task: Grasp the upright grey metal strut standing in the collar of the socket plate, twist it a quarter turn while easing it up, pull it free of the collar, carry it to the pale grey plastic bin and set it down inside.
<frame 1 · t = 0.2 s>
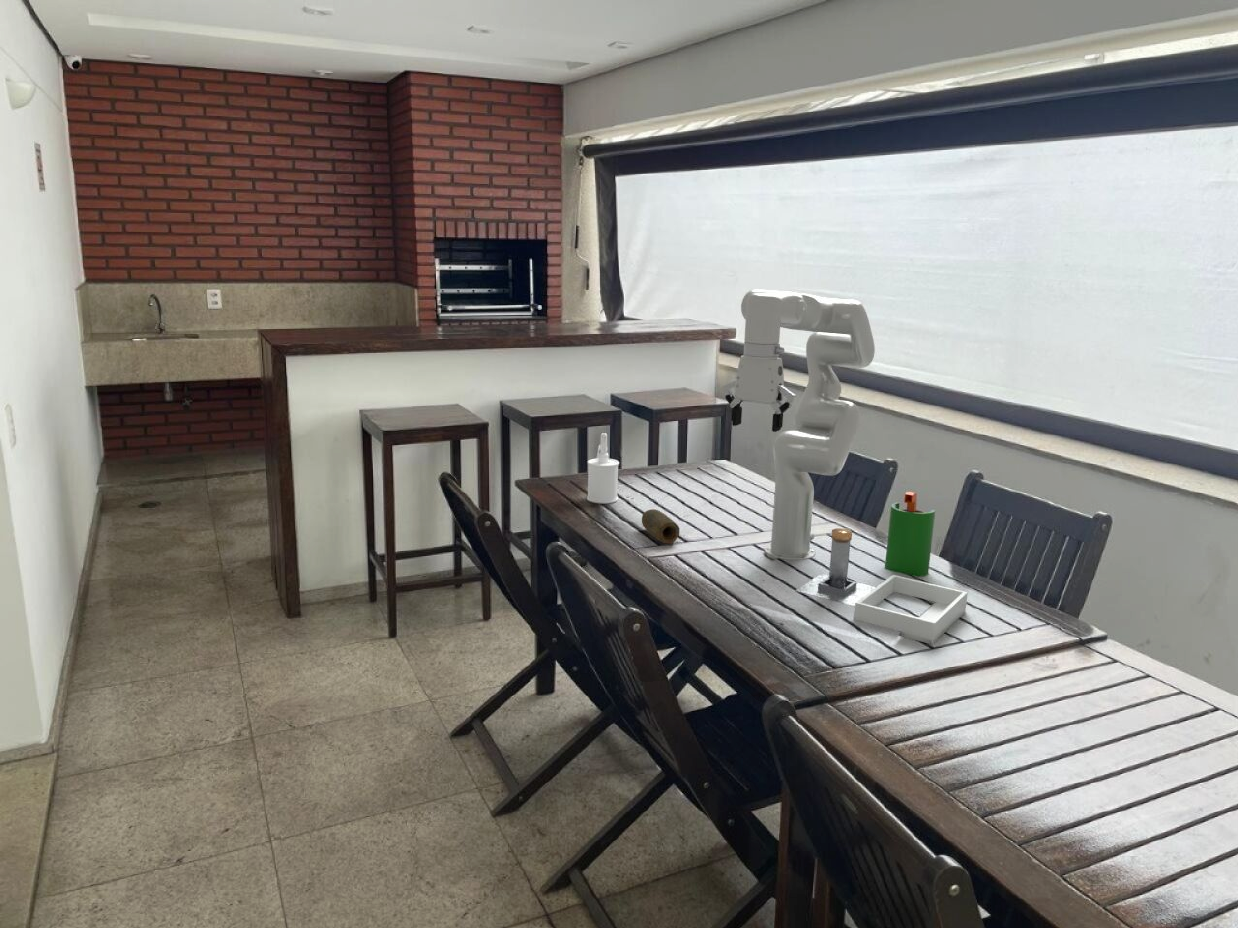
hand: (756, 427, 215), 36 cm above the table, tool pointing down, fingers open, 9 cm apart
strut: (837, 589, 218), point 1 cm above the table, touching socket plate
motor: (905, 571, 234), on the table
stone weight: (659, 538, 254), on the table
bin: (910, 617, 205), on the table
socket plate: (836, 593, 218), on the table
white spout bottle: (602, 499, 288), on the table
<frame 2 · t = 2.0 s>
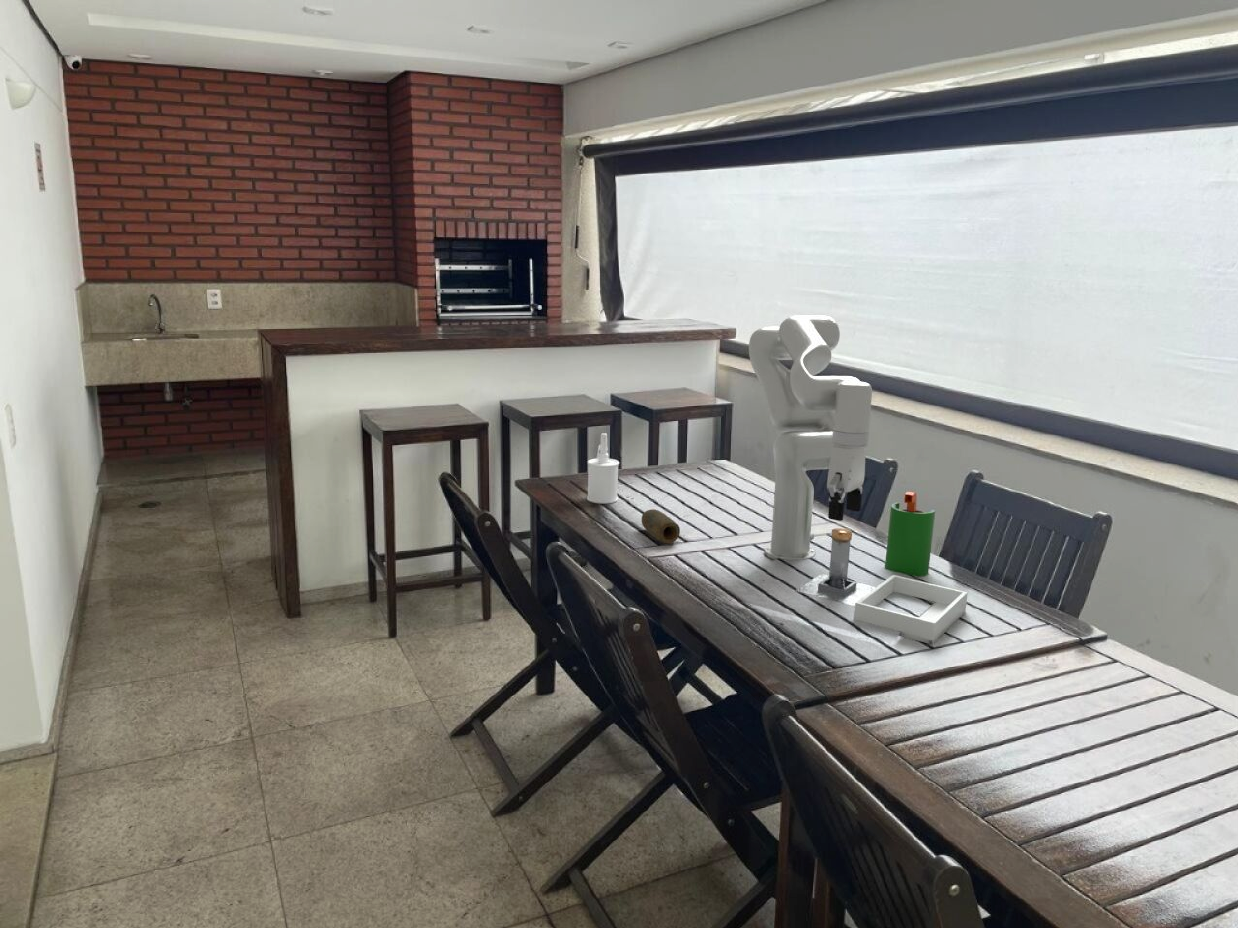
hand: (844, 514, 213), 19 cm above the table, tool pointing down, fingers open, 9 cm apart
nothing on the table moved.
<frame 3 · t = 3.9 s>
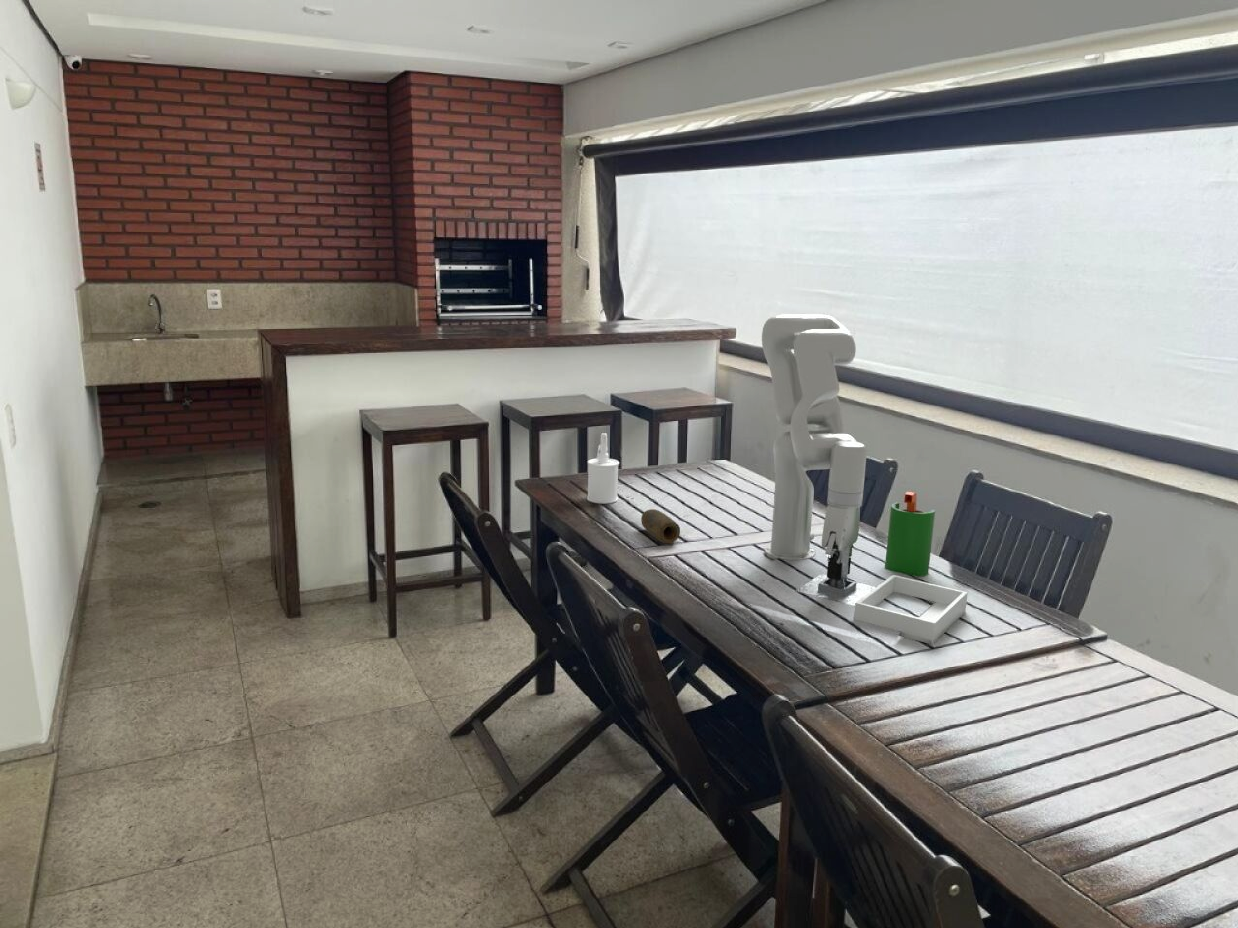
hand: (838, 575, 217), 4 cm above the table, tool pointing down, fingers closed on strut, 4 cm apart
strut: (837, 589, 218), point 1 cm above the table, touching gripper, socket plate
everything else where it was.
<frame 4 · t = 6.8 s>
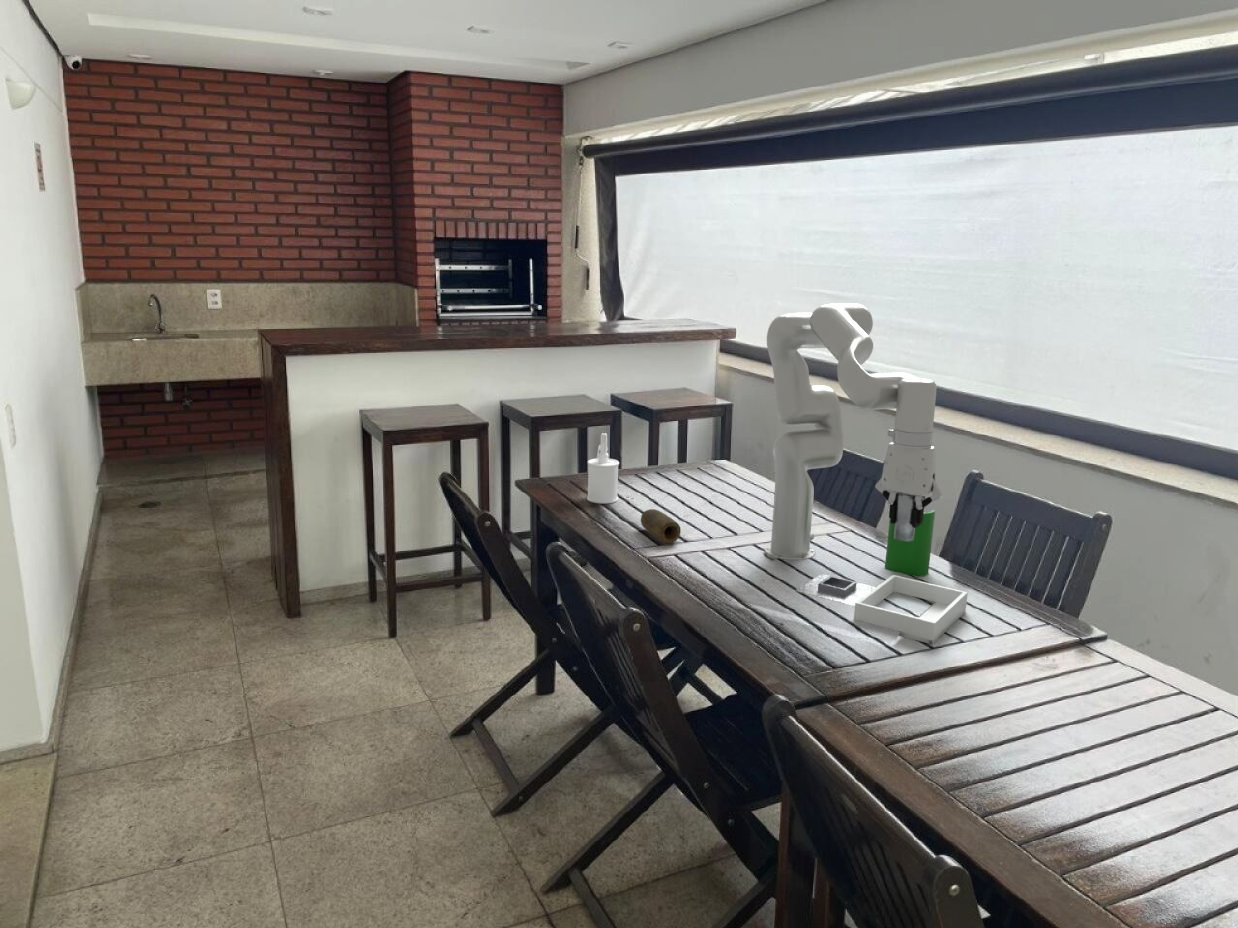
hand: (905, 523, 203), 20 cm above the table, tool pointing down, fingers closed on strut, 4 cm apart
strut: (903, 538, 203), point 17 cm above the table, touching gripper
everything else where it was.
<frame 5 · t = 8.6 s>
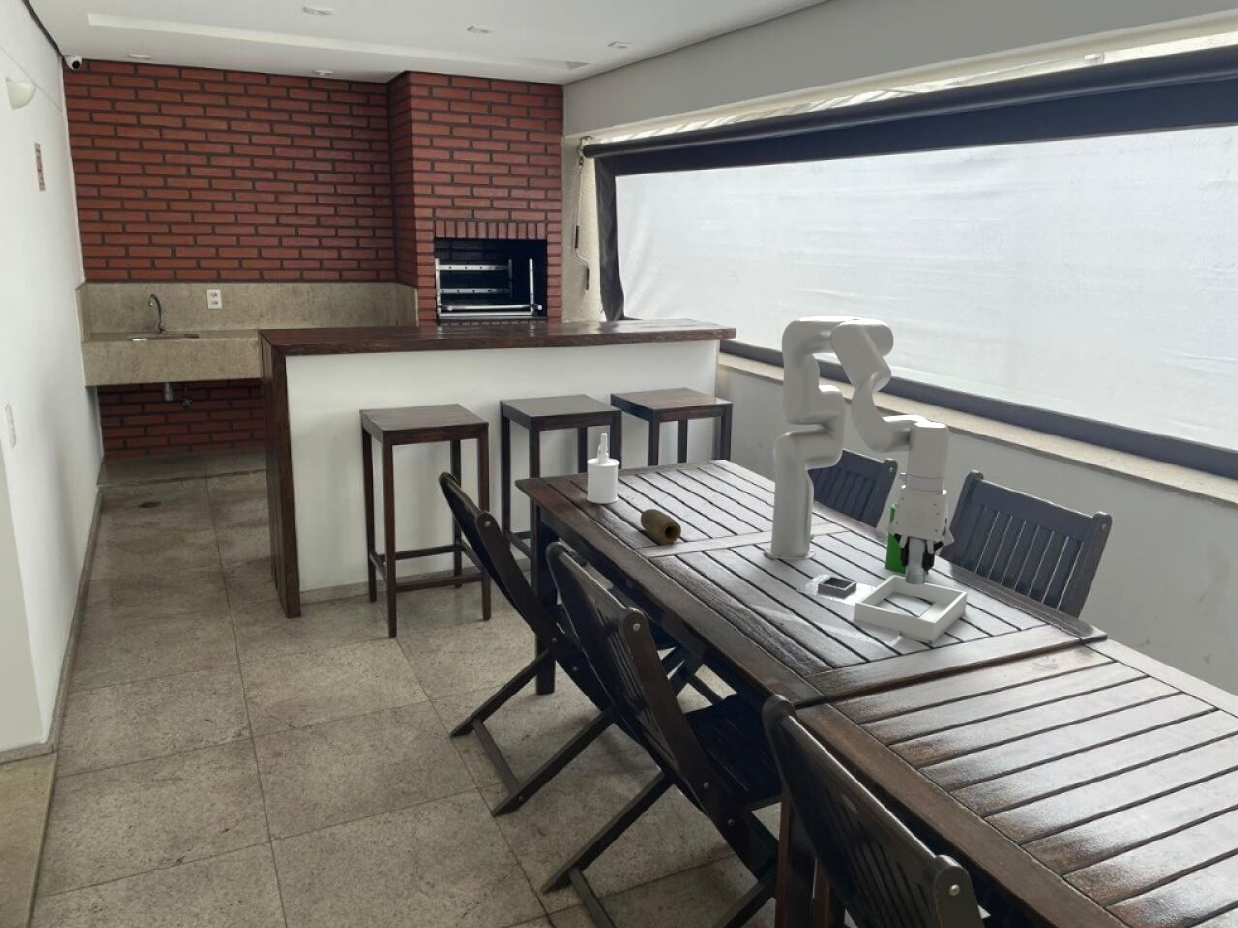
hand: (916, 566, 202), 11 cm above the table, tool pointing down, fingers closed on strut, 4 cm apart
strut: (914, 581, 203), point 8 cm above the table, touching gripper
everything else where it was.
when the fingers open (5 cm above the table, at t = 10.1 s): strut stays where it is, resting on bin.
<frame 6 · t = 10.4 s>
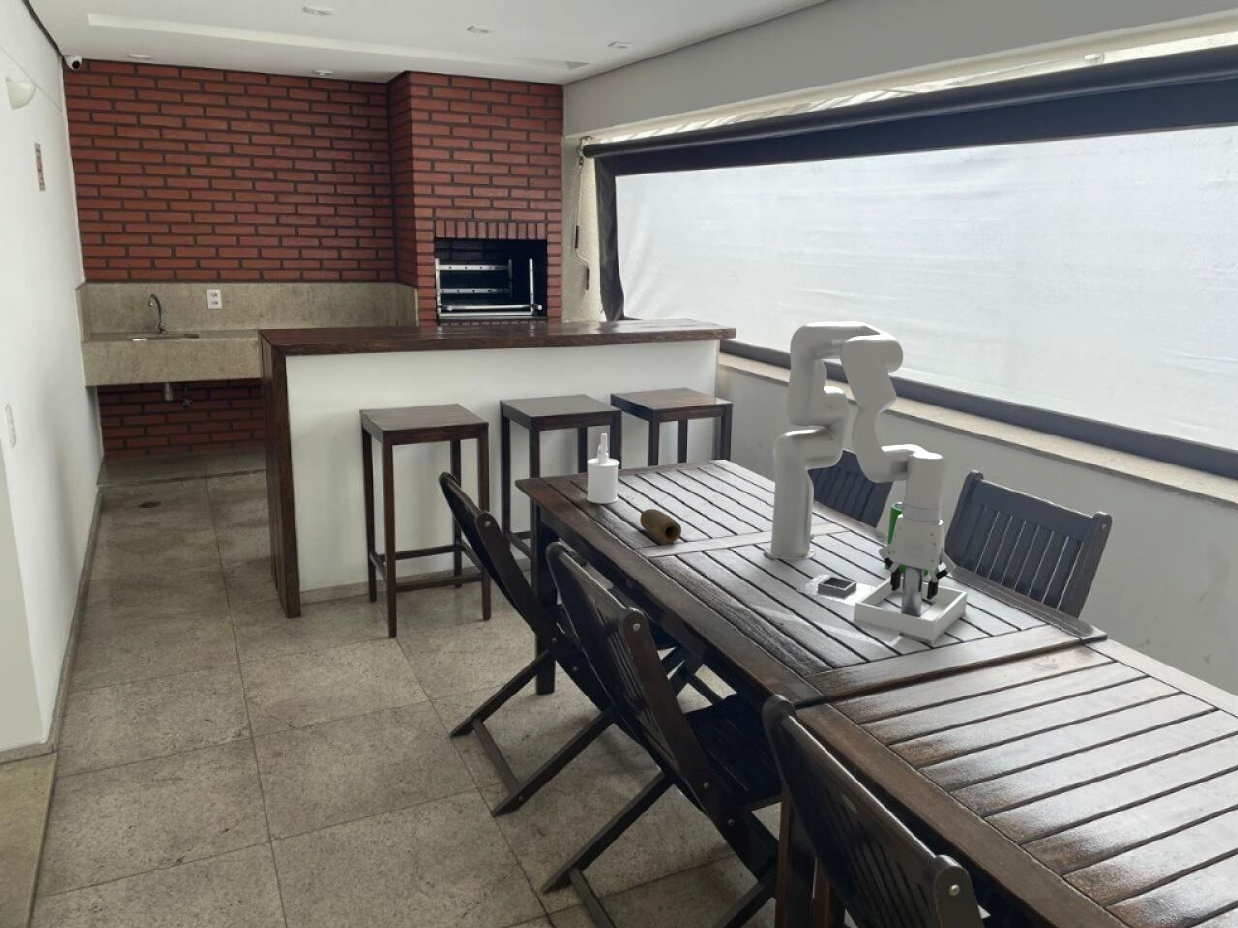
hand: (913, 592, 204), 6 cm above the table, tool pointing down, fingers open, 7 cm apart
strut: (910, 613, 205), point 1 cm above the table, touching bin
everything else where it was.
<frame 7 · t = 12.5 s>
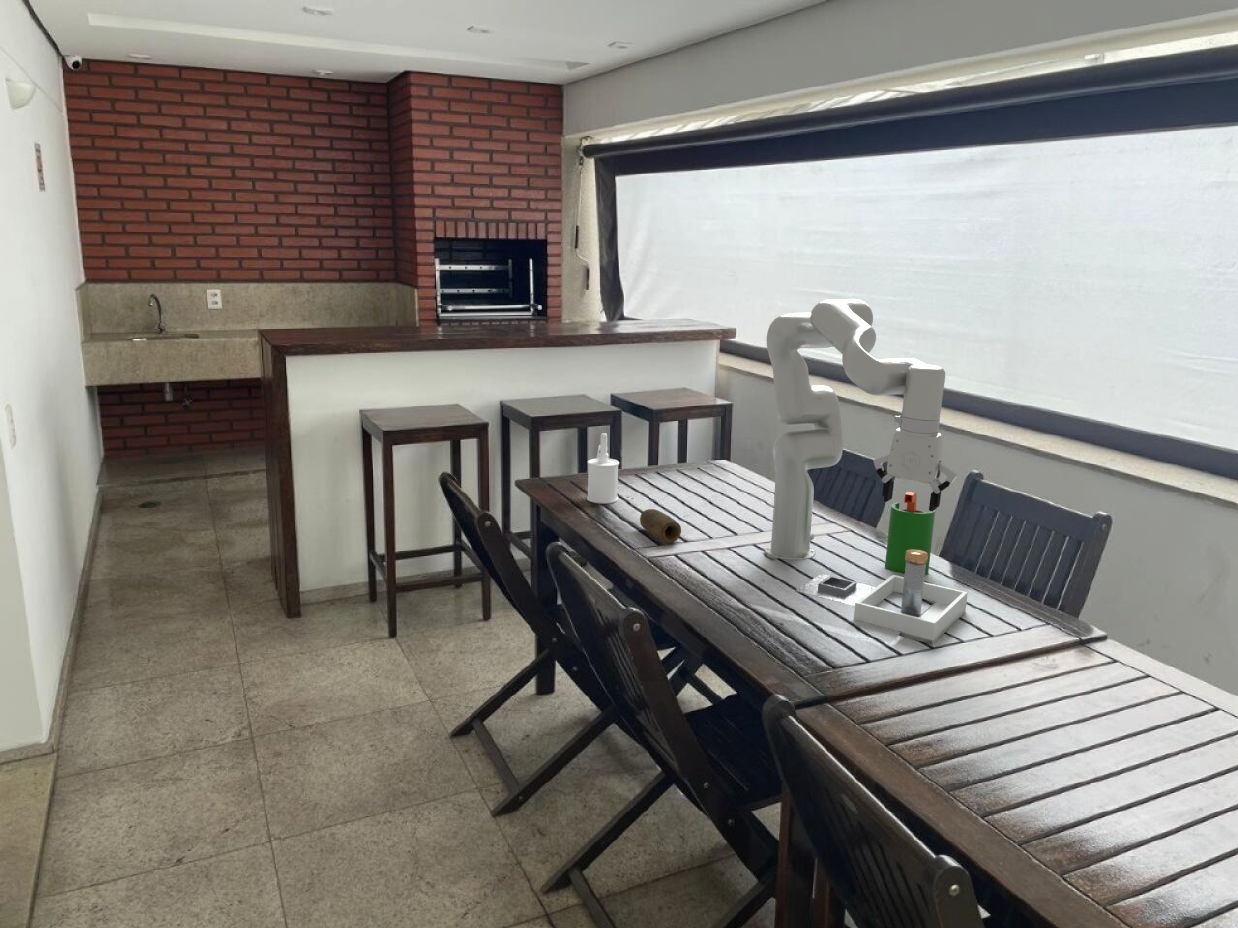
hand: (909, 504, 202), 24 cm above the table, tool pointing down, fingers open, 9 cm apart
nothing on the table moved.
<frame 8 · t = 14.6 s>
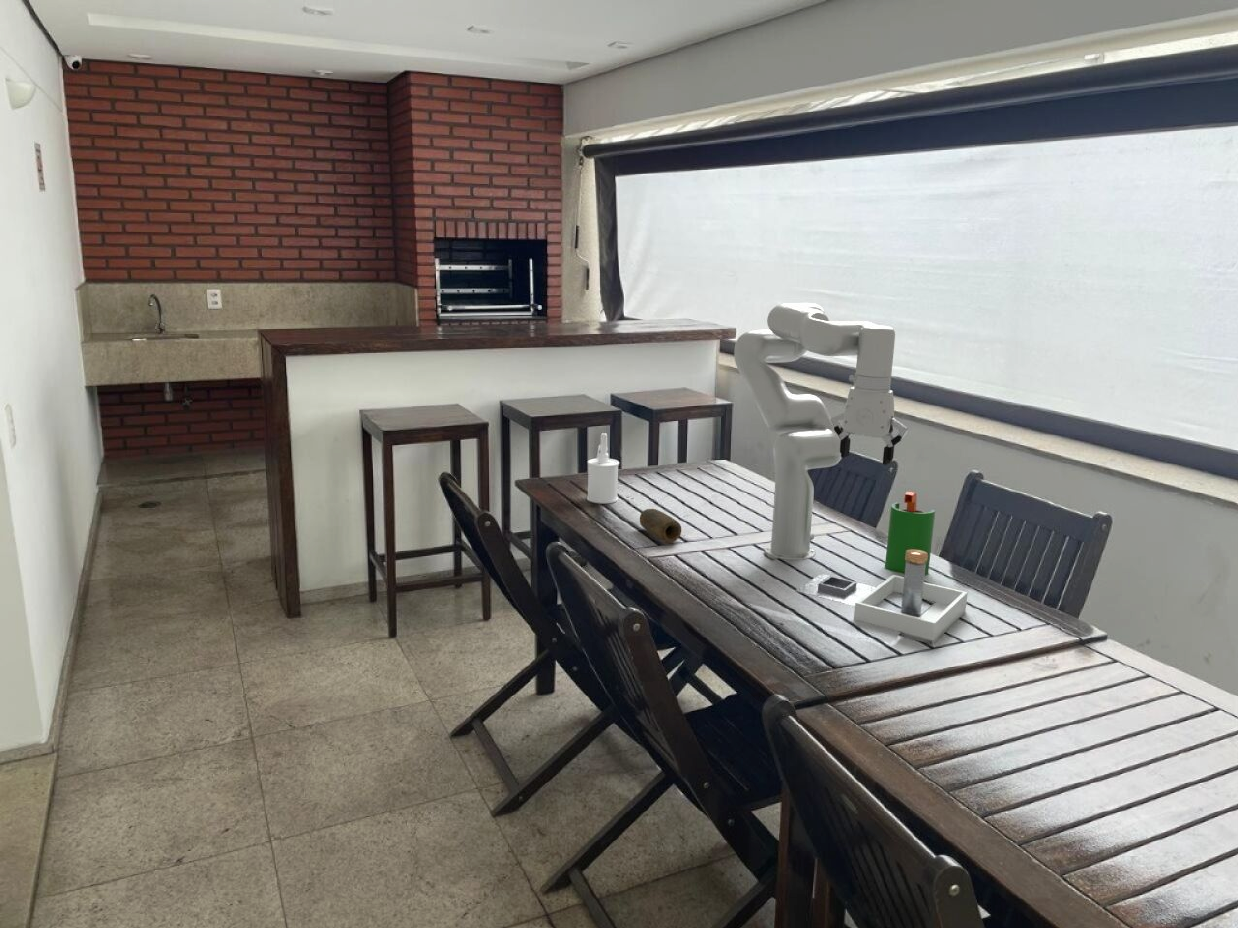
hand: (865, 460, 213), 30 cm above the table, tool pointing down, fingers open, 9 cm apart
nothing on the table moved.
at the end: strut inside the target area on the bin (0.1 cm from its centre), point 0.8 cm above the bin's base; the gripper is holding nothing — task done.
